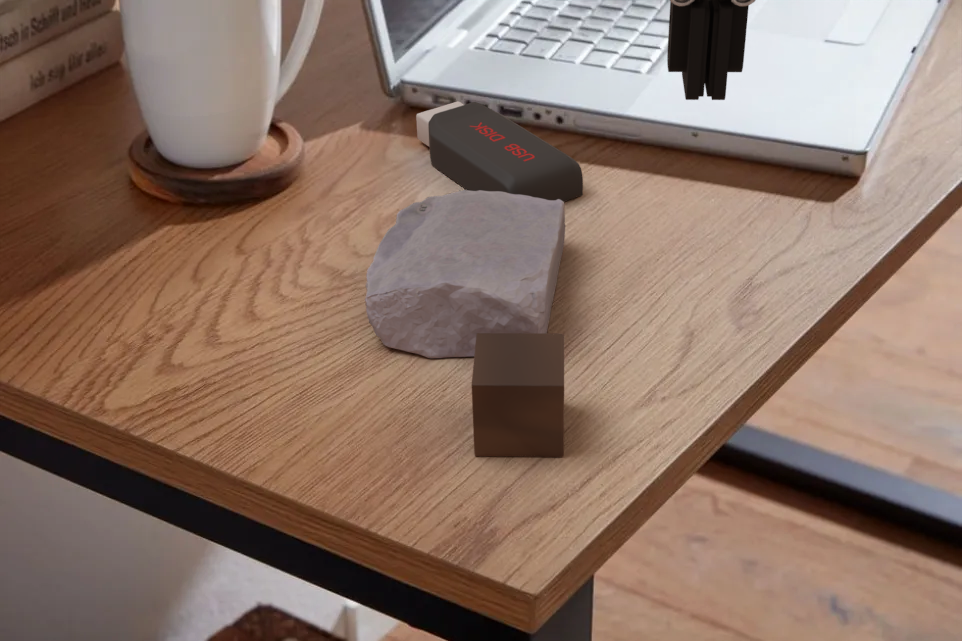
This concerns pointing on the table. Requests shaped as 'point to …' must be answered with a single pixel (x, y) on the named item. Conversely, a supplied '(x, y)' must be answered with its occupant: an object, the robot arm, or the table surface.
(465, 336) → the stone block
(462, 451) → the table surface
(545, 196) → the usb drive
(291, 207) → the table surface
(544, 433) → the walnut block
